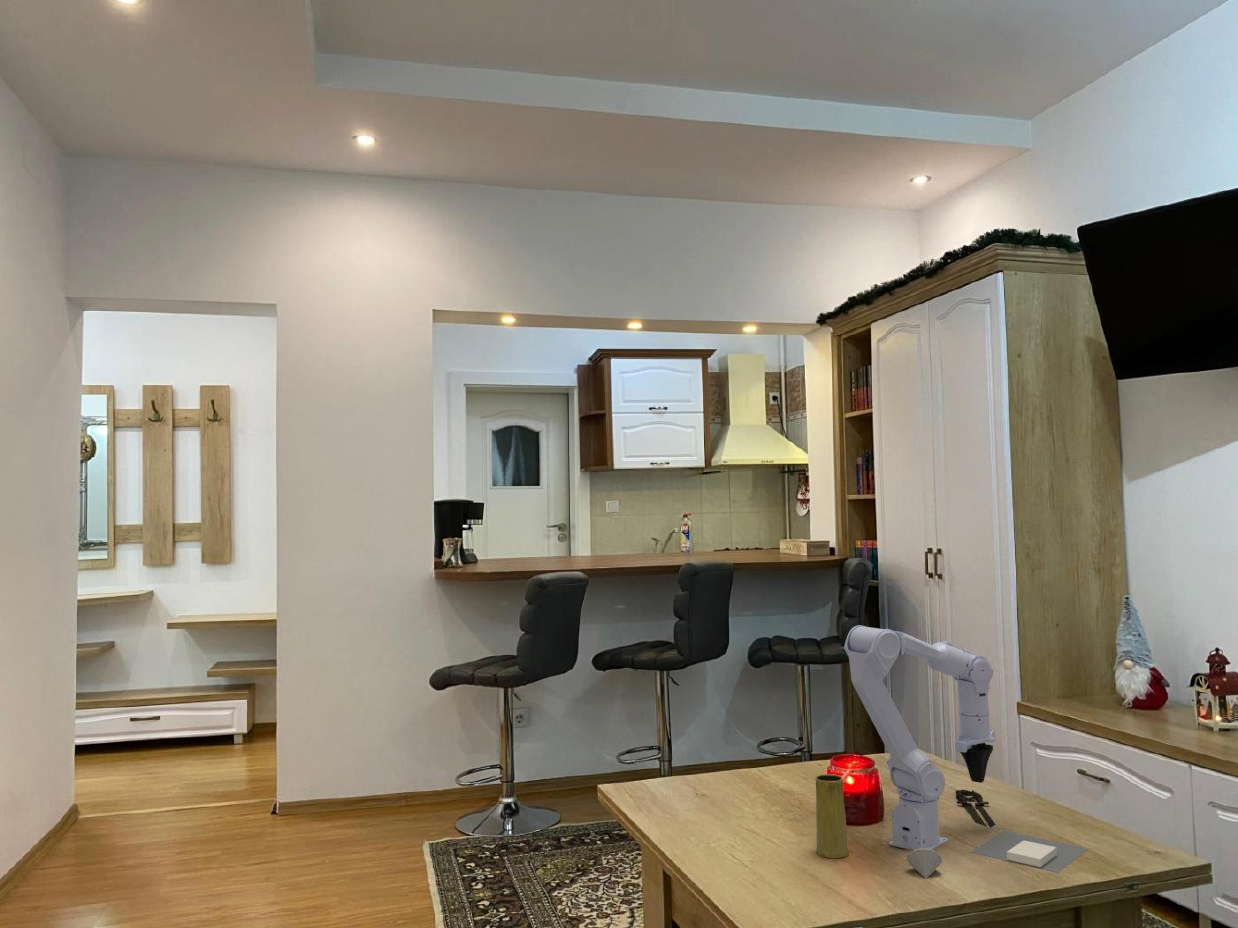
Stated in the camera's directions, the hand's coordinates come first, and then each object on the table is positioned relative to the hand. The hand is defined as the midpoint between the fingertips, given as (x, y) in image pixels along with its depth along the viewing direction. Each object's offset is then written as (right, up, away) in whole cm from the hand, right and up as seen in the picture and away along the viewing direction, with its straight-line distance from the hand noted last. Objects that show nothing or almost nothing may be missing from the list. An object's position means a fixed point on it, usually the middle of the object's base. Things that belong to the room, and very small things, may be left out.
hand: (977, 781), depth 187 cm
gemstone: (-18, -9, -22) cm, 30 cm away
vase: (-32, -10, -11) cm, 35 cm away
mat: (+5, -9, -13) cm, 17 cm away
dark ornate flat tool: (+5, -11, +12) cm, 18 cm away
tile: (+6, -7, -15) cm, 17 cm away
